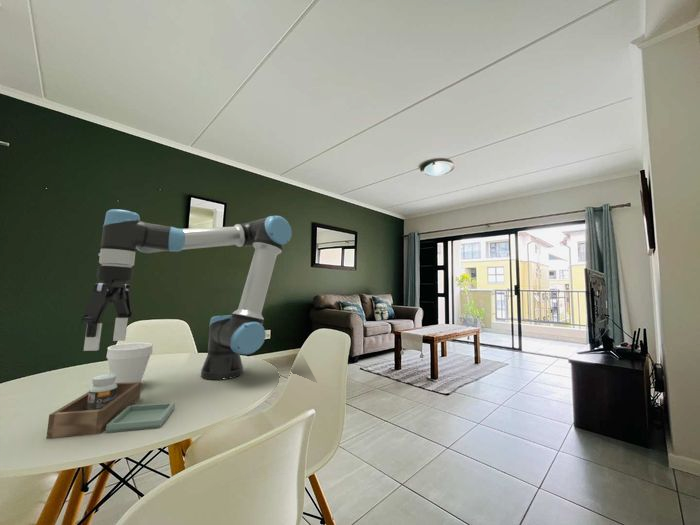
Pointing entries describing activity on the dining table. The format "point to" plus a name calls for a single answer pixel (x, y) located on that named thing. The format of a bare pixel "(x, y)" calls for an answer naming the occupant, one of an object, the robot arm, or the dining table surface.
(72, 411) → the caddy
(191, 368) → the dining table surface
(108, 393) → the pill bottle
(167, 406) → the tray
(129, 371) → the white flower pot
